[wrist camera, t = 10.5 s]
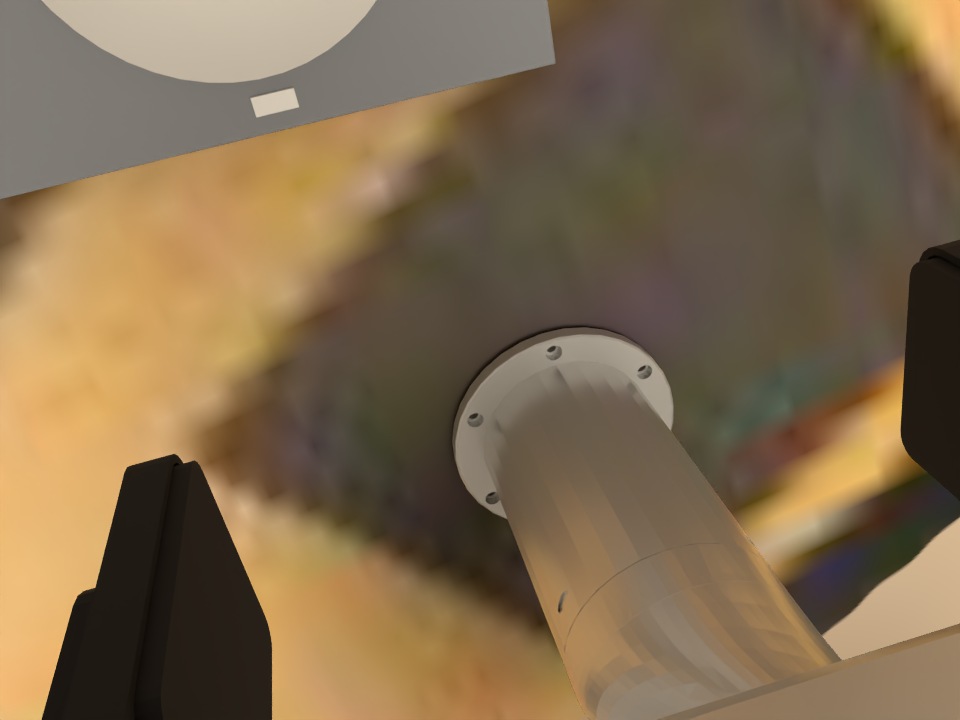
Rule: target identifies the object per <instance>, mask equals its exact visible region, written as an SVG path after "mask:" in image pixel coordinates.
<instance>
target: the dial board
mask: <svg viewBox="0 0 960 720" xmlns="http://www.w3.org/2000/svg"><path fill="white" fill-rule="evenodd" d="M551 64H555V55H554V48H553V40H552V32H551V25H550V17H549V10H548V2H547V0H376V2H375V3H374V5H373V6H372V7H371V9H370V10H369V11H368V13H367V14H366V16H365V17H364V18H363V19H362V20H361V21H360V22H359V23H358V24H357V25H356V26H355V27H354V28H353V29H352V30H351V32H350V33H349V34H348V35H346V36H345V37H344V38H343V39H341V40H340V41H339V42H338V43H336V44H335V45H334V46H333V47H331V48H330V49H329V50H327V51H326V52H324V53H322V54H321V55H319V56H317V57H316V58H314V59H312V60H311V61H309V62H307V63H305V64H303V65H301V66H298V67H296V68H294V69H291V70H289V71H287V72H284V73H281V74H277V75H273V76H270V77H266V78H262V79H258V80H251V81H243V82H236V83H206V82H198V81H190V80H182V79H177V78H174V77H170V76H166V75H162V74H158V73H154V72H151V71H149V70H146V69H144V68H141V67H138V66H136V65H133V64H131V63H128V62H126V61H124V60H122V59H120V58H118V57H116V56H114V55H113V54H111V53H109V52H107V51H105V50H103V49H101V48H100V47H98V46H97V45H95V44H94V43H92V42H91V41H89V40H88V39H86V38H85V37H83V36H82V35H80V34H79V33H77V32H76V31H75V30H73V29H72V28H71V27H70V26H69V25H68V24H66V23H65V22H64V21H63V20H62V19H61V18H59V17H58V16H57V15H56V14H55V13H54V12H52V11H51V10H50V9H49V8H48V7H47V6H46V5H45V3H44V2H43V1H42V0H0V199H3V198H7V197H11V196H15V195H19V194H23V193H27V192H31V191H35V190H40V189H44V188H48V187H52V186H56V185H60V184H64V183H68V182H72V181H76V180H80V179H84V178H89V177H93V176H97V175H101V174H105V173H109V172H113V171H117V170H121V169H125V168H129V167H134V166H138V165H142V164H146V163H150V162H154V161H158V160H162V159H166V158H170V157H174V156H179V155H183V154H187V153H191V152H195V151H199V150H203V149H207V148H211V147H215V146H219V145H224V144H228V143H232V142H236V141H240V140H244V139H248V138H252V137H256V136H260V135H264V134H269V133H273V132H277V131H281V130H285V129H289V128H293V127H297V126H301V125H305V124H309V123H314V122H318V121H322V120H326V119H330V118H334V117H338V116H342V115H346V114H350V113H354V112H359V111H363V110H367V109H371V108H375V107H379V106H383V105H387V104H391V103H395V102H399V101H403V100H408V99H412V98H416V97H420V96H424V95H428V94H432V93H436V92H440V91H444V90H448V89H453V88H457V87H461V86H465V85H469V84H473V83H477V82H481V81H485V80H489V79H493V78H498V77H502V76H506V75H510V74H514V73H518V72H522V71H526V70H530V69H534V68H538V67H543V66H547V65H551Z"/></svg>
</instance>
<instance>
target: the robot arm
mask: <svg viewBox="0 0 960 720" xmlns="http://www.w3.org/2000/svg"><path fill="white" fill-rule="evenodd" d="M551 346H552V347H551ZM550 347H551V348H550ZM673 411H674V404H673V398H672V393H671V388H670V386H669V384H668V381H667V379H666V377H665V375H664V373H663V371H662V370H661V369H660V367H659V366H658V365H657V363H656V362H655V361H654V359H653V358H652V357H651V356H650V355H649V354H648V353H647V352H646V351H645V350H644V349H643V348H642V347H641V346H640V345H638V344H636V343H635V342H633V341H631V340H630V339H628V338H626V337H625V336H622V335H619V334H616V333H613V332H610V331H607V330H603V329H595V328H587V327H581V328H563V329H559V330H555V331H551V332H546V333H542V334H539V335H537V336H534V337H532V338H530V339H527V340H525V341H522V342H520V343H518V344H517V345H515V346H514V347H512V348H510V349H509V350H507V351H506V352H504V353H502V354H501V355H500V356H498V357H497V358H496V359H495V360H494V361H493V362H492V363H490V364H489V365H488V366H487V367H486V368H485V369H484V370H483V371H482V372H481V373H480V374H479V376H478V377H477V378H476V379H475V381H474V382H473V383H472V384H471V385H470V387H469V389H468V391H467V392H466V394H465V396H464V398H463V400H462V401H461V403H460V406H459V409H458V412H457V415H456V418H455V421H454V428H453V437H452V444H453V452H454V459H455V462H456V465H457V468H458V471H459V475H460V477H461V479H462V481H463V482H464V484H465V486H466V488H467V490H468V491H469V492H470V494H471V495H472V496H473V497H474V498H475V499H476V500H477V502H478V503H479V504H481V505H482V506H484V507H485V508H486V509H488V510H489V511H491V512H492V513H494V514H496V515H498V516H501V517H503V518H505V519H507V520H508V522H509V524H510V527H511V529H512V532H513V534H514V537H515V540H516V542H517V545H518V547H519V550H520V552H521V555H522V558H523V560H524V563H525V565H526V568H527V570H528V573H529V576H530V578H531V581H532V583H533V586H534V588H535V591H536V594H537V596H538V599H539V601H540V604H541V606H542V609H543V612H544V614H545V617H546V619H547V622H548V625H549V627H550V630H551V632H552V635H553V637H554V640H555V643H556V645H557V648H558V650H559V653H560V655H561V658H562V661H563V663H564V666H565V668H566V672H567V675H568V677H569V680H570V682H571V685H572V687H573V690H574V692H575V695H576V697H577V700H578V702H579V704H580V706H581V708H582V710H583V711H584V713H585V714H586V716H587V717H588V719H589V720H960V624H957V625H954V626H951V627H948V628H945V629H942V630H938V631H935V632H932V633H929V634H926V635H923V636H919V637H916V638H913V639H910V640H907V641H903V642H900V643H897V644H894V645H891V646H887V647H884V648H881V649H878V650H875V651H871V652H868V653H865V654H862V655H859V656H856V657H852V658H849V659H846V660H843V661H842V660H841V659H840V657H839V656H838V655H837V654H836V653H835V652H834V650H833V649H832V648H831V647H830V645H829V644H827V642H826V641H825V639H824V638H823V637H822V636H821V634H820V633H819V632H818V631H817V629H816V628H815V627H814V625H813V624H812V623H811V621H810V620H809V619H808V618H807V616H806V615H805V614H804V612H803V611H802V610H801V608H800V607H799V606H798V605H797V603H796V602H795V601H794V599H793V598H792V596H791V595H790V594H789V592H788V591H787V590H786V588H785V587H784V586H783V584H782V583H781V581H780V580H779V579H778V577H777V576H776V575H775V573H774V572H773V571H772V569H771V568H770V566H769V565H768V563H767V562H766V561H765V559H764V558H763V557H762V555H761V554H760V552H759V551H758V550H757V548H756V547H755V546H754V544H753V543H752V542H751V540H750V539H749V537H748V536H747V535H746V533H745V532H744V531H743V529H742V528H741V527H740V525H739V524H738V522H737V521H736V520H735V518H734V517H733V516H732V514H731V513H730V511H729V510H728V509H727V507H726V506H725V505H724V503H723V502H722V500H721V499H720V498H719V496H718V495H717V494H716V492H715V491H714V490H713V488H712V487H711V485H710V484H709V483H708V481H707V480H706V479H705V477H704V476H703V474H702V473H701V472H700V470H699V469H698V468H697V466H696V465H695V463H694V462H693V461H692V459H691V458H690V457H689V455H688V454H687V453H686V451H685V450H684V448H683V447H682V446H681V444H680V443H679V442H678V440H677V439H676V437H675V436H674V435H673V433H672V432H671V429H672V425H673ZM901 438H902V442H903V445H904V447H905V449H906V451H907V453H908V454H909V456H910V457H911V458H912V459H913V460H914V461H915V462H917V463H918V464H919V465H920V466H921V467H922V468H923V469H924V470H926V471H927V472H928V473H929V474H930V475H931V476H932V477H934V478H935V479H936V480H937V481H938V482H939V483H940V484H942V485H943V486H944V487H945V488H946V489H947V490H948V491H949V492H951V493H952V494H953V495H954V496H955V497H956V498H957V499H959V500H960V240H957V241H953V242H950V243H946V244H942V245H939V246H935V247H931V248H928V249H927V250H926V251H924V252H923V254H922V256H921V258H920V261H919V262H918V263H916V264H915V265H914V266H913V268H912V270H911V273H910V283H909V299H908V316H907V333H906V349H905V366H904V382H903V399H902V416H901ZM42 720H272V643H271V636H270V631H269V627H268V623H267V620H266V618H265V615H264V613H263V610H262V608H261V606H260V603H259V601H258V599H257V596H256V594H255V592H254V589H253V587H252V585H251V582H250V580H249V578H248V575H247V573H246V571H245V569H244V566H243V564H242V562H241V559H240V557H239V555H238V552H237V550H236V548H235V545H234V543H233V541H232V538H231V536H230V534H229V531H228V529H227V527H226V524H225V522H224V520H223V517H222V515H221V513H220V510H219V508H218V506H217V503H216V501H215V499H214V496H213V494H212V492H211V490H210V487H209V485H208V483H207V480H206V478H205V476H204V473H203V471H202V469H201V467H200V465H199V464H198V463H197V462H196V461H192V462H188V463H184V464H183V462H182V460H181V459H180V458H179V457H178V456H177V455H176V454H172V455H168V456H165V457H161V458H157V459H154V460H150V461H146V462H143V463H139V464H135V465H132V466H129V467H127V469H126V471H125V473H124V477H123V481H122V485H121V489H120V493H119V497H118V501H117V505H116V509H115V513H114V517H113V521H112V525H111V529H110V533H109V537H108V541H107V545H106V548H105V552H104V556H103V560H102V564H101V568H100V572H99V576H98V580H97V584H96V588H93V589H89V590H86V591H83V592H82V593H81V594H80V595H78V596H77V599H76V601H75V603H74V605H73V608H72V612H71V616H70V619H69V623H68V626H67V630H66V634H65V637H64V641H63V644H62V648H61V652H60V655H59V659H58V662H57V666H56V670H55V673H54V677H53V680H52V684H51V688H50V691H49V695H48V699H47V702H46V706H45V709H44V713H43V717H42Z"/></svg>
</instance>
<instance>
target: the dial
mask: <svg viewBox="0 0 960 720" xmlns="http://www.w3.org/2000/svg"><path fill="white" fill-rule="evenodd" d="M42 1H43V2H44V3H45V5H46V6H47V7H48V8H49V9H50V10H51V11H52V12H54V13H55V14H56V15H57V16H58V17H59V18H61V19H62V20H63V21H64V22H65V23H66V24H68V25H69V26H70V27H71V28H72V29H73V30H75V31H76V32H77V33H79V34H80V35H82V36H83V37H85V38H86V39H88V40H89V41H91V42H92V43H94V44H95V45H97V46H98V47H100V48H101V49H103V50H105V51H107V52H109V53H111V54H113V55H114V56H116V57H118V58H120V59H122V60H124V61H126V62H128V63H131V64H133V65H136V66H138V67H141V68H144V69H146V70H149V71H151V72H154V73H158V74H162V75H166V76H170V77H174V78H177V79H182V80H190V81H198V82H206V83H236V82H243V81H251V80H258V79H262V78H266V77H270V76H273V75H277V74H281V73H284V72H287V71H289V70H291V69H294V68H296V67H298V66H301V65H303V64H305V63H307V62H309V61H311V60H312V59H314V58H316V57H317V56H319V55H321V54H322V53H324V52H326V51H327V50H329V49H330V48H331V47H333V46H334V45H335V44H336V43H338V42H339V41H340V40H341V39H343V38H344V37H345V36H346V35H348V34H349V33H350V32H351V30H352V29H353V28H354V27H355V26H356V25H357V24H358V23H359V22H360V21H361V20H362V19H363V18H364V17H365V16H366V14H367V13H368V11H369V10H370V9H371V7H372V6H373V5H374V3H375V2H376V0H42Z"/></svg>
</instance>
